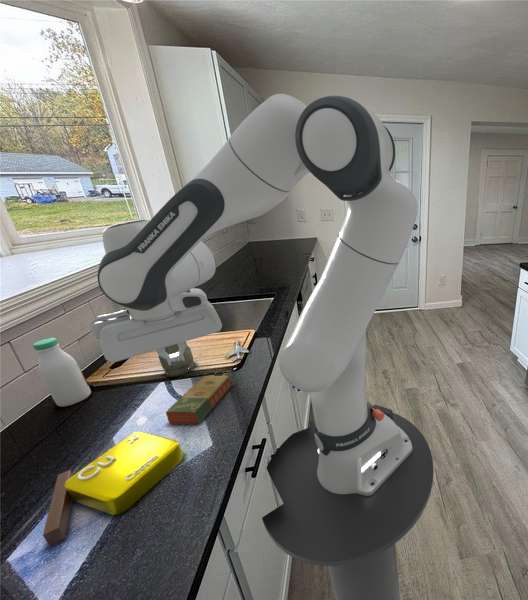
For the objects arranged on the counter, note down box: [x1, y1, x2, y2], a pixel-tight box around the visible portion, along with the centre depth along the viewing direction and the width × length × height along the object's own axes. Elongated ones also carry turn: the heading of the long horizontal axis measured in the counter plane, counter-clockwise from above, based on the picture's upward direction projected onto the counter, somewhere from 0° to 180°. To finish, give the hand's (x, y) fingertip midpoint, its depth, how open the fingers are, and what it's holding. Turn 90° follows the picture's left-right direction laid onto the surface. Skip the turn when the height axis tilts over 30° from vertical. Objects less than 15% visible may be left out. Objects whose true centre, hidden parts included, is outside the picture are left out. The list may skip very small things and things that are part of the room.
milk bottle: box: [32, 337, 92, 407], centre depth 92 cm, size 8×8×20 cm
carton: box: [165, 375, 233, 425], centre depth 89 cm, size 8×16×4 cm, turn 177°
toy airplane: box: [226, 339, 250, 364], centre depth 116 cm, size 8×21×2 cm, turn 27°
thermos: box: [158, 341, 196, 377], centre depth 102 cm, size 9×12×35 cm
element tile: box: [64, 431, 184, 516], centre depth 68 cm, size 15×15×5 cm
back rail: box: [42, 469, 75, 547], centre depth 62 cm, size 2×16×3 cm, turn 39°
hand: (176, 362), depth 68 cm, fingers closed
